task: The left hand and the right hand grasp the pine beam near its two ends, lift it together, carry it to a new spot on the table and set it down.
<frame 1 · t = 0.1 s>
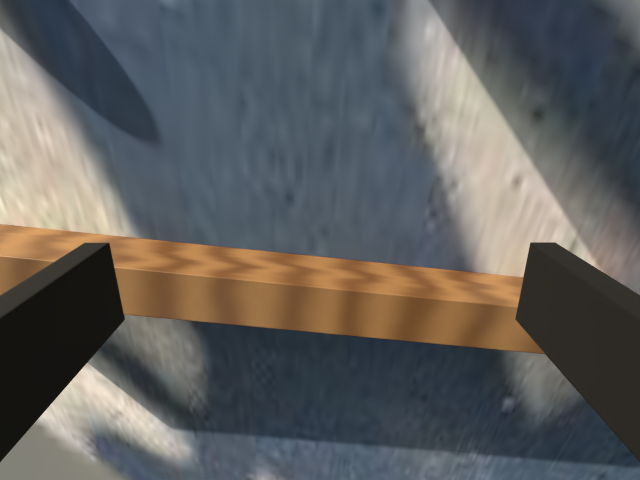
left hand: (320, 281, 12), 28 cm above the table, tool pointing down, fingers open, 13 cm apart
beam: (296, 274, 43), on the table
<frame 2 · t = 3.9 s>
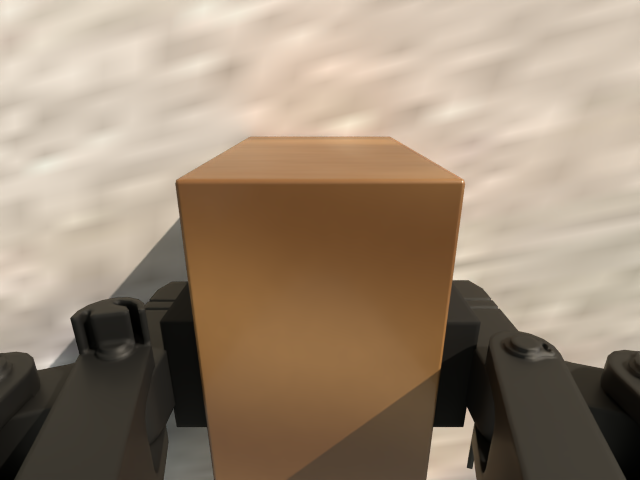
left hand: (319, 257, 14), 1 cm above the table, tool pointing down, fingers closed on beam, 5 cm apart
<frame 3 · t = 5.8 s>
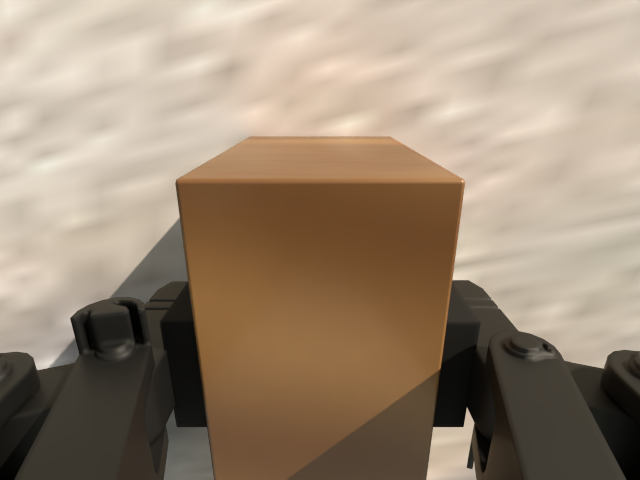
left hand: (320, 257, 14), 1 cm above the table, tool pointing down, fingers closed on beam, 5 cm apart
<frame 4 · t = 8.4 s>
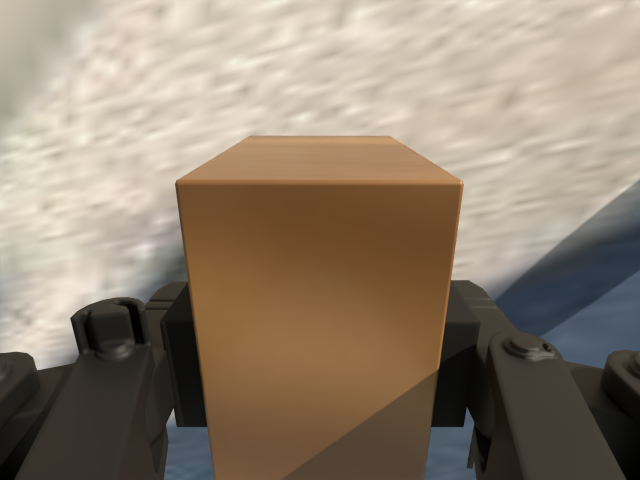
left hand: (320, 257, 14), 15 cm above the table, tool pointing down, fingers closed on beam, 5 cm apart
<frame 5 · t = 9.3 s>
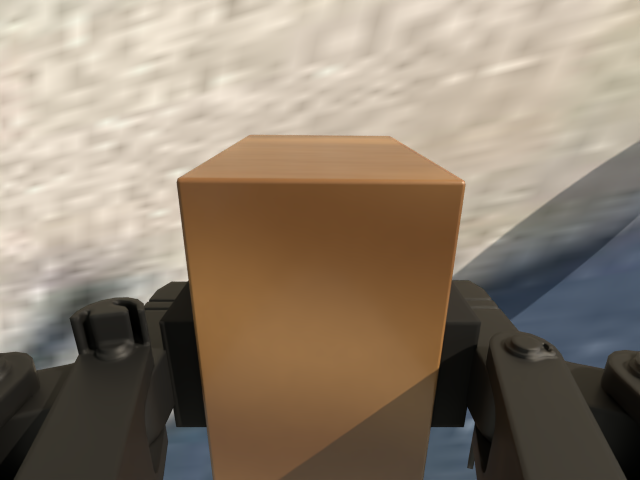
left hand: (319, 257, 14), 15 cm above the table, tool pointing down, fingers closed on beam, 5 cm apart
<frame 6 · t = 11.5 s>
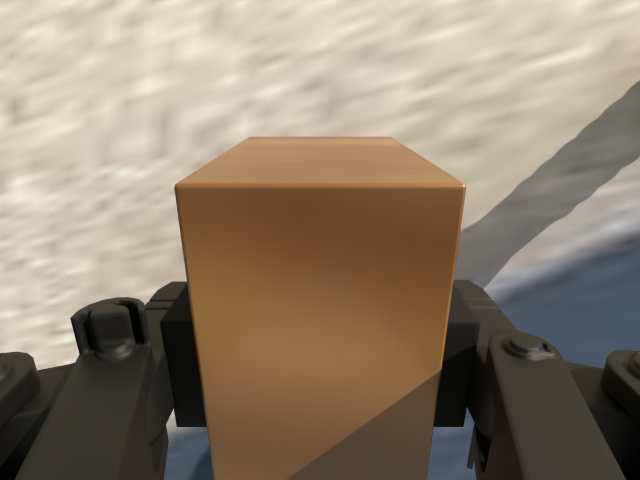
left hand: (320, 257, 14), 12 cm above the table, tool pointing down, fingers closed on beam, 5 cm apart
when the left hand's fingers open (2 cm above the table, at t = 13.0 s): beam stays where it is, on the table.
when the right hand's fingers open (3 cm above the table, at t = 13.1 s): beam stays where it is, on the table.
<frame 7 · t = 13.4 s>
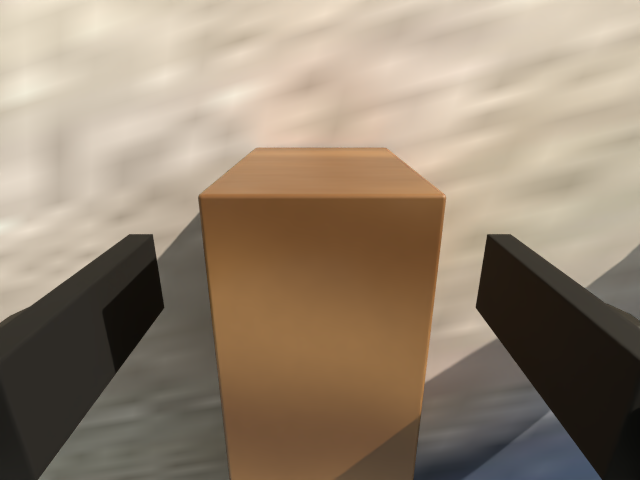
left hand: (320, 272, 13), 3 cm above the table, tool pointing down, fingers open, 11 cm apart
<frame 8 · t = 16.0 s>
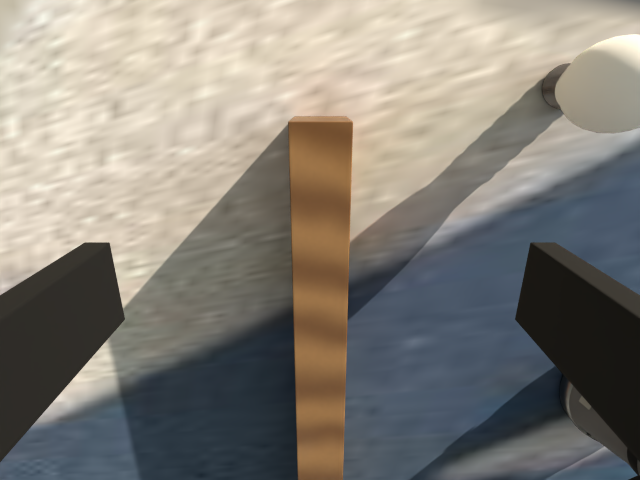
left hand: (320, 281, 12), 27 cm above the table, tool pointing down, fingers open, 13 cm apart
beam: (320, 424, 49), on the table
light bulb: (561, 87, 35), on the table
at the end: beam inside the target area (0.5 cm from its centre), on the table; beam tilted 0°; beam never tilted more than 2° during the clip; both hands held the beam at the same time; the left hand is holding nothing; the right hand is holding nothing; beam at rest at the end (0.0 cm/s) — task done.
